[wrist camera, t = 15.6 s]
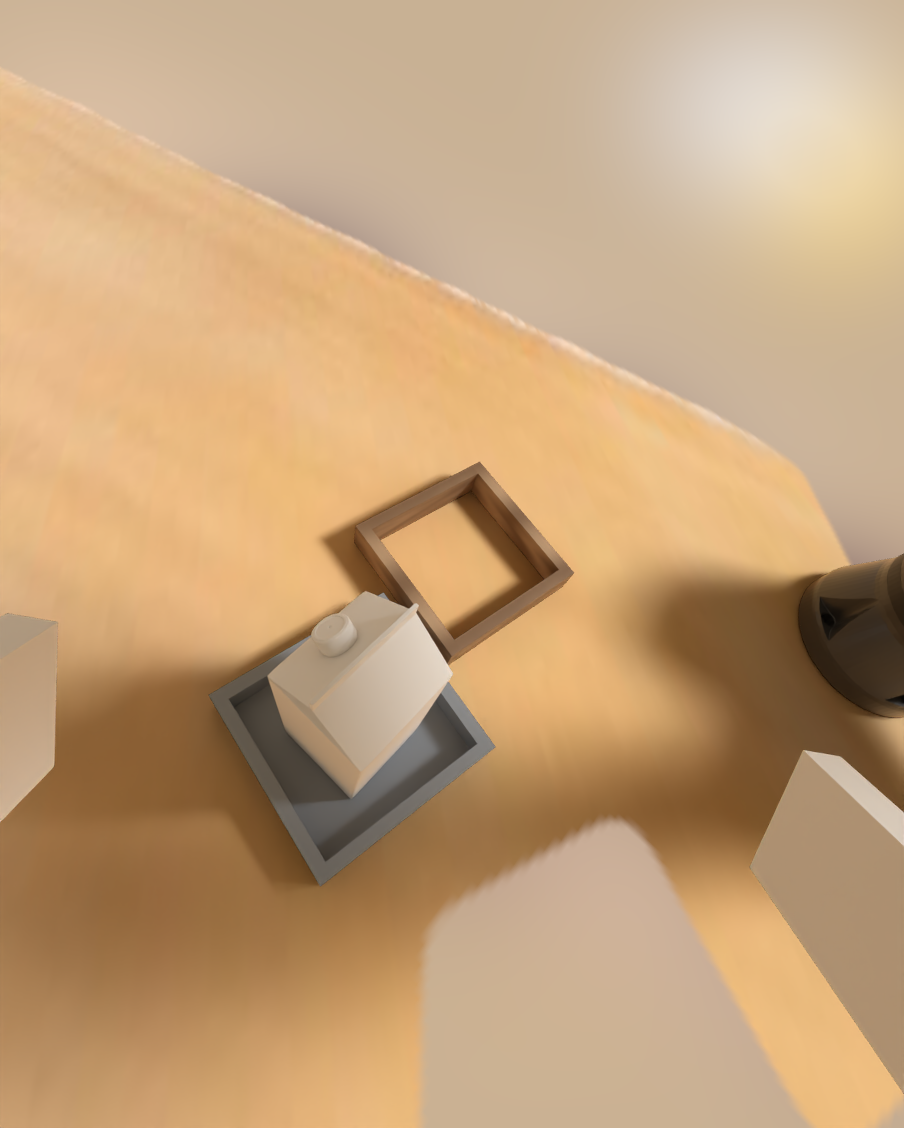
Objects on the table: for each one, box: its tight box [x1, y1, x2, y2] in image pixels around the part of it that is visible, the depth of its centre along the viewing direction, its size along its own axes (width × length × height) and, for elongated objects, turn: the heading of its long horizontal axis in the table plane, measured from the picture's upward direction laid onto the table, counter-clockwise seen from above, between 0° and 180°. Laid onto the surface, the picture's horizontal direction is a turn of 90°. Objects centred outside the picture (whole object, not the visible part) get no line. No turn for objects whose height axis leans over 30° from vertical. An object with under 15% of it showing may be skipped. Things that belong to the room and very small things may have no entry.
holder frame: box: [354, 462, 574, 665], centre depth 52 cm, size 14×14×3 cm
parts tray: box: [209, 593, 495, 886], centre depth 43 cm, size 15×15×3 cm
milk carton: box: [267, 591, 453, 799], centre depth 36 cm, size 7×7×19 cm
